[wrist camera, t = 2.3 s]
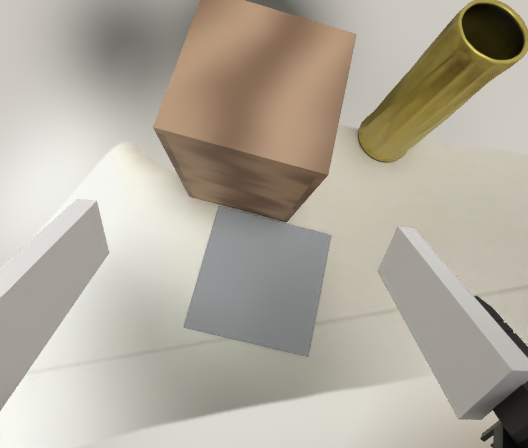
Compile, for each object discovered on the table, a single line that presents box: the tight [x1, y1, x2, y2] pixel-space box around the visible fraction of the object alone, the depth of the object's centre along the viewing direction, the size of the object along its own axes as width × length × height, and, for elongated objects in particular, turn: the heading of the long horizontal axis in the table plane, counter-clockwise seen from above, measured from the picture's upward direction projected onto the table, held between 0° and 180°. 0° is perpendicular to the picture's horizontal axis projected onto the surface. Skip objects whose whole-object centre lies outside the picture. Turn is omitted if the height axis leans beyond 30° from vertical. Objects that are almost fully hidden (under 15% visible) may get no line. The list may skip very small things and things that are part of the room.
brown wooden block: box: [153, 0, 356, 222], centre depth 23 cm, size 10×10×13 cm
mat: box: [184, 206, 331, 357], centre depth 27 cm, size 12×12×1 cm
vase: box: [359, 0, 528, 162], centre depth 25 cm, size 6×6×14 cm
